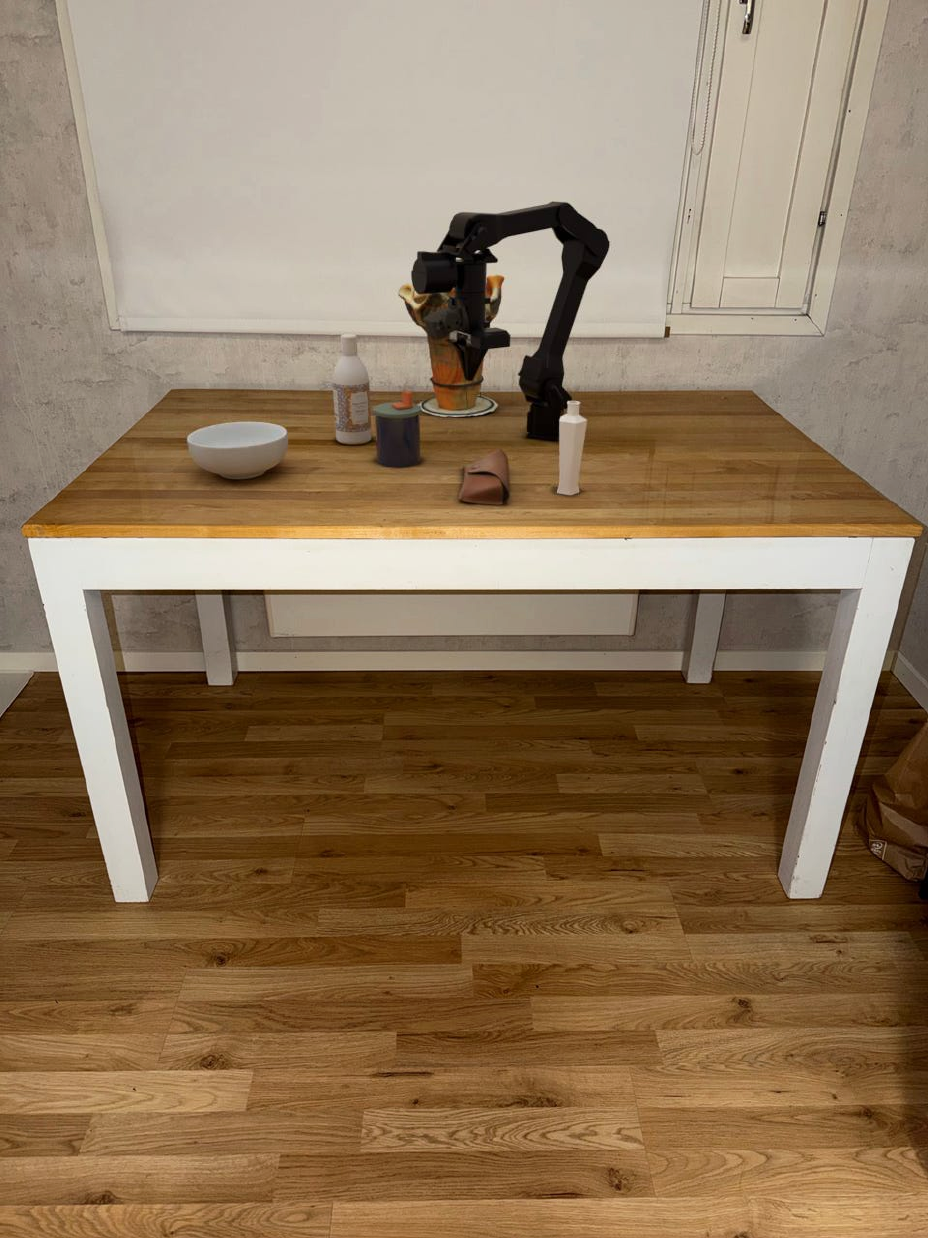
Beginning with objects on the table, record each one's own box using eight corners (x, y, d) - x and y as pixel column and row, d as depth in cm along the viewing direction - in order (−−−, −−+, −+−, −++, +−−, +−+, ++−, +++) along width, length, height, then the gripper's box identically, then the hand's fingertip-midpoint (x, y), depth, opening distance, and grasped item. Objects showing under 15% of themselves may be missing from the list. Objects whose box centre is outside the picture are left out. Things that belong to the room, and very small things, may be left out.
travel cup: (408, 450, 164) (407, 399, 160) (430, 463, 158) (429, 410, 153) (367, 457, 160) (365, 405, 156) (387, 470, 154) (386, 416, 149)
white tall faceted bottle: (580, 496, 143) (587, 406, 136) (554, 495, 143) (559, 405, 136) (582, 487, 147) (589, 399, 140) (556, 485, 147) (561, 398, 140)
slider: (406, 403, 157) (405, 389, 155) (413, 407, 154) (412, 392, 153) (391, 406, 155) (390, 391, 154) (398, 409, 153) (397, 394, 152)
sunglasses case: (460, 465, 155) (479, 434, 152) (493, 485, 156) (513, 454, 154) (457, 501, 139) (479, 467, 136) (494, 522, 141) (516, 489, 138)
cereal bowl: (291, 455, 161) (287, 418, 157) (290, 485, 146) (287, 444, 143) (197, 460, 158) (191, 421, 155) (187, 490, 144) (181, 449, 140)
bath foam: (346, 447, 166) (339, 339, 156) (330, 438, 171) (323, 333, 161) (377, 441, 169) (373, 336, 160) (361, 433, 174) (356, 330, 165)
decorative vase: (385, 409, 191) (380, 273, 178) (454, 390, 206) (455, 265, 193) (455, 426, 179) (456, 283, 166) (523, 406, 194) (529, 273, 181)
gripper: (405, 287, 156) (407, 374, 163) (457, 300, 142) (456, 396, 149) (458, 283, 161) (458, 368, 168) (513, 296, 147) (510, 388, 154)
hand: (468, 380), depth 160 cm, fingers closed
